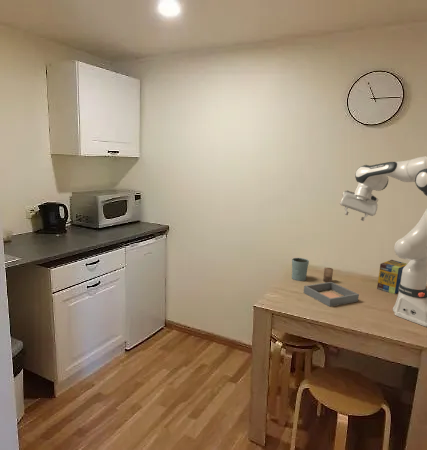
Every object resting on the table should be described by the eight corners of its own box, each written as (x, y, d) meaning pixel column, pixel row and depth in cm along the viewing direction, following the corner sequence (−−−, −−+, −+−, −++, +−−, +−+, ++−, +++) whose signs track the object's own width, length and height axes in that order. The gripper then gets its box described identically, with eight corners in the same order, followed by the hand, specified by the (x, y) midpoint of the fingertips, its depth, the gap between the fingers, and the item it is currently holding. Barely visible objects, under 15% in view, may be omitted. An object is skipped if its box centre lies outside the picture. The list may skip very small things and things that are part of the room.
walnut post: (333, 282, 222) (334, 269, 221) (327, 283, 220) (328, 270, 218) (327, 279, 226) (328, 267, 225) (321, 280, 224) (322, 268, 223)
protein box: (376, 288, 214) (380, 263, 211) (387, 283, 224) (391, 259, 221) (394, 294, 207) (398, 268, 204) (405, 288, 217) (409, 263, 214)
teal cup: (295, 281, 220) (296, 262, 217) (287, 276, 229) (289, 257, 227) (310, 281, 222) (312, 262, 220) (301, 275, 232) (303, 257, 230)
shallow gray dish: (357, 301, 194) (358, 294, 193) (329, 306, 185) (330, 299, 184) (330, 288, 211) (331, 281, 211) (303, 292, 202) (304, 285, 202)
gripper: (345, 188, 209) (337, 210, 208) (381, 200, 206) (373, 222, 205) (343, 190, 215) (335, 212, 214) (377, 202, 212) (369, 224, 211)
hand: (354, 217), depth 210 cm, fingers open, 8 cm apart
